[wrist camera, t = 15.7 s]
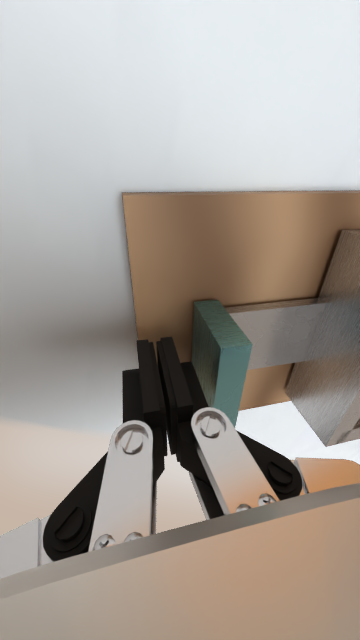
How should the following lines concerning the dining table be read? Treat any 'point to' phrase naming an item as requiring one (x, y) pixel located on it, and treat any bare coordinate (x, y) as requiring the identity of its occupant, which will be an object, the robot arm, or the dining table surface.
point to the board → (230, 260)
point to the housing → (291, 348)
